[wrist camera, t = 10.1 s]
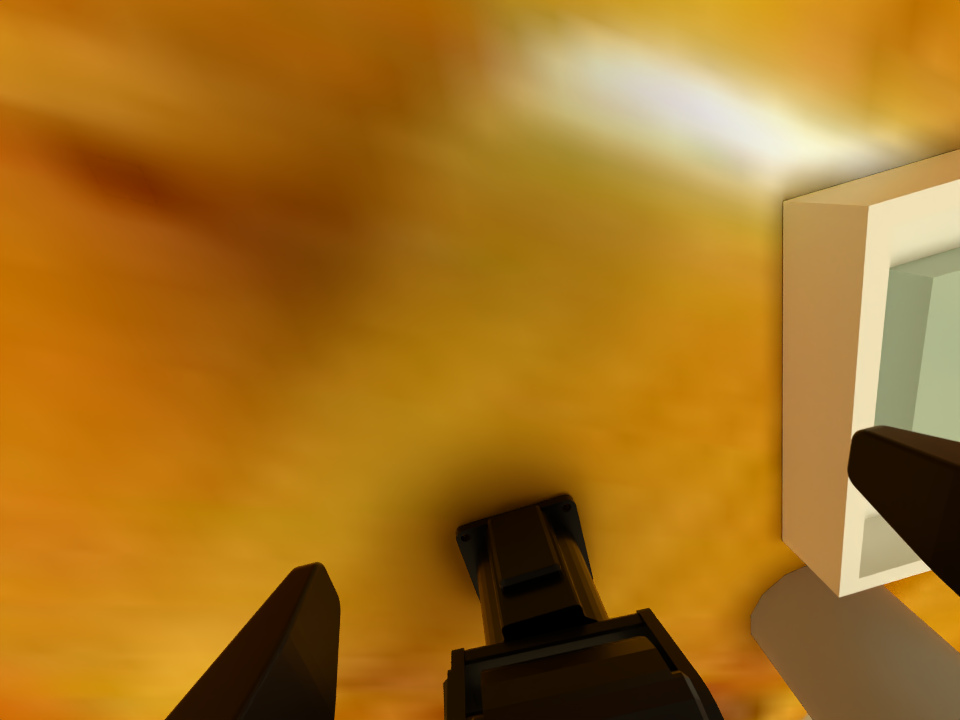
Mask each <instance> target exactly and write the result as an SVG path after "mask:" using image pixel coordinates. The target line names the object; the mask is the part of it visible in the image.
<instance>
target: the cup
mask: <svg viewBox="0 0 960 720" xmlns="http://www.w3.org/2000/svg"><path fill="white" fill-rule="evenodd" d="M751 635H752V636H753V637H754V639H755V640H756V642H757V643H758V644H759V646H760V647H761V649H762V650H763V651H764V653H765V654H766V655H767V657H768V658H769V660H770V661H771V662H772V664H773V665H774V667H775V668H776V669H777V671H778V672H779V674H780V675H781V676H782V678H783V679H784V681H785V682H786V683H787V685H788V686H789V688H790V689H791V690H792V692H793V693H794V694H795V696H796V697H797V699H798V700H799V701H800V703H801V704H802V706H803V707H804V708H805V710H806V711H807V713H808V714H809V715H810V717H811V718H812V720H960V653H959V652H958V651H956V650H955V649H954V648H953V647H952V646H951V645H950V644H949V643H947V642H946V641H945V640H944V639H943V638H942V637H941V636H939V635H938V634H937V633H936V632H935V631H934V630H933V629H932V628H930V627H929V626H928V625H927V624H926V623H925V622H924V621H923V620H921V619H920V618H919V617H918V616H917V615H916V614H915V613H913V612H912V611H911V610H910V609H909V608H908V607H907V606H906V605H904V604H903V603H902V602H901V601H900V600H899V599H898V598H896V597H895V596H894V595H893V594H892V593H891V592H890V591H889V590H887V589H886V588H885V587H884V586H883V585H879V586H876V587H873V588H869V589H866V590H863V591H859V592H856V593H853V594H849V595H846V596H843V597H838V596H837V595H836V594H835V593H834V592H833V591H832V590H831V589H830V588H829V587H828V586H827V585H826V584H825V583H824V582H823V581H822V580H821V579H820V578H819V577H818V576H817V575H816V574H815V573H814V572H813V571H812V570H811V569H810V568H809V567H808V566H804V567H802V568H800V569H798V570H795V571H793V572H791V573H789V574H787V575H785V576H784V577H782V578H781V579H780V580H779V581H778V582H777V583H775V584H774V585H773V586H772V587H771V588H770V589H768V590H767V591H766V592H765V593H764V594H763V595H762V597H761V598H760V600H759V602H758V604H757V605H756V607H755V609H754V611H753V613H752V614H751Z"/></svg>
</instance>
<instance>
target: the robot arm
mask: <svg viewBox="0 0 960 720" xmlns="http://www.w3.org/2000/svg"><path fill="white" fill-rule="evenodd" d="M847 473H848V477H849V479H850V481H851V483H852V484H853V485H854V487H855V488H856V489H857V490H858V491H859V492H860V493H861V494H862V495H863V497H864V498H865V499H866V500H867V501H868V502H869V503H870V504H871V505H872V506H873V507H874V509H875V510H876V511H877V512H878V513H879V514H880V515H881V516H882V517H883V518H884V520H885V521H886V522H887V523H888V524H889V525H890V526H891V527H892V528H893V529H894V530H895V532H896V533H897V534H898V535H899V536H900V537H901V538H902V539H903V540H904V541H905V542H906V544H907V545H908V546H909V547H910V548H911V549H912V550H913V551H914V552H915V553H916V554H917V555H918V557H919V558H920V559H921V560H922V561H923V562H924V563H925V564H926V565H927V566H928V567H929V568H930V569H931V570H932V571H933V572H934V573H935V574H936V575H937V576H938V577H939V578H940V579H941V580H942V581H943V582H944V583H946V584H947V585H948V586H949V587H950V588H951V589H952V590H953V591H954V592H955V593H956V594H957V595H958V596H959V597H960V442H958V441H954V440H949V439H945V438H940V437H936V436H931V435H927V434H922V433H918V432H913V431H909V430H904V429H900V428H895V427H891V426H886V425H878V426H873V427H869V428H865V429H861V430H858V431H856V432H855V433H854V435H853V436H852V439H851V446H850V452H849V459H848V466H847ZM565 504H568V505H567V506H565V507H563V505H565ZM464 534H468V535H467V536H462V535H464ZM456 540H457V543H458V546H459V548H460V551H461V553H462V556H463V559H464V561H465V564H466V566H467V569H468V572H469V574H470V577H471V579H472V582H473V585H474V587H475V590H476V592H477V595H478V598H479V600H480V603H481V610H482V617H483V625H484V633H485V640H486V646H482V647H477V648H473V649H468V650H465V649H464V648H461V649H457V650H452V652H451V670H448V678H447V680H446V681H445V682H444V683H443V688H444V720H724V719H723V716H722V714H721V712H720V710H719V708H718V706H717V704H716V702H715V700H714V698H713V697H712V695H711V693H710V691H709V689H708V688H707V686H706V685H705V683H704V682H703V680H702V679H701V677H700V676H699V674H698V673H697V672H696V670H695V669H694V668H693V666H692V665H691V664H690V662H689V661H688V660H687V658H686V657H685V655H684V654H683V653H682V651H681V650H680V649H679V647H678V646H677V645H676V643H675V642H674V641H673V639H672V638H671V637H670V635H669V634H668V632H667V631H666V630H665V628H664V627H663V626H662V624H661V623H660V622H659V620H658V619H657V618H656V616H655V615H654V614H653V612H652V611H651V609H650V608H646V609H642V610H637V613H635V614H630V615H625V616H621V617H616V618H611V619H609V618H608V616H607V613H606V611H605V608H604V606H603V604H602V601H601V599H600V596H599V594H598V592H597V589H596V587H595V585H594V582H593V576H592V572H591V568H590V563H589V559H588V555H587V551H586V546H585V542H584V538H583V533H582V529H581V525H580V521H579V516H578V512H577V508H576V504H575V502H574V500H573V498H572V497H571V496H568V495H563V496H560V497H556V498H553V499H549V500H546V501H543V502H539V503H536V504H533V505H529V506H526V507H523V508H519V509H516V510H512V511H509V512H506V513H502V514H499V515H496V516H492V517H489V518H486V519H482V520H479V521H475V522H472V523H469V524H465V525H462V526H460V527H459V528H458V529H457V530H456ZM339 629H340V601H339V597H338V595H337V592H336V590H335V588H334V586H333V584H332V582H331V580H330V577H329V575H328V573H327V571H326V569H325V567H324V565H323V564H322V563H319V562H315V563H311V564H307V565H303V566H298V567H296V568H294V569H293V570H292V571H291V572H290V573H289V574H288V576H287V577H286V578H285V579H284V580H283V581H282V583H281V584H280V585H279V586H278V587H277V588H276V590H275V591H274V592H273V593H272V594H271V595H270V597H269V598H268V599H267V600H266V601H265V603H264V604H263V605H262V606H261V607H260V608H259V610H258V611H257V612H256V613H255V614H254V615H253V617H252V618H251V619H250V620H249V621H248V622H247V624H246V625H245V626H244V627H243V628H242V630H241V631H240V632H239V633H238V634H237V635H236V637H235V638H234V639H233V640H232V641H231V642H230V644H229V645H228V646H227V647H226V648H225V649H224V651H223V652H222V653H221V654H220V655H219V657H218V658H217V659H216V660H215V661H214V662H213V664H212V665H211V666H210V667H209V668H208V669H207V671H206V672H205V673H204V674H203V675H202V677H201V678H200V679H199V680H198V681H197V682H196V684H195V685H194V686H193V687H192V688H191V689H190V691H189V692H188V693H187V694H186V695H185V696H184V698H183V699H182V700H181V701H180V702H179V704H178V705H177V706H176V707H175V708H174V709H173V711H172V712H171V713H170V714H169V715H168V716H167V718H166V719H165V720H334V716H335V703H336V686H337V667H338V648H339Z"/></svg>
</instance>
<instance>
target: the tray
mask: <svg viewBox="0 0 960 720" xmlns="http://www.w3.org/2000/svg"><path fill="white" fill-rule="evenodd" d="M878 425H886V426H891V427H895V428H900V429H904V430H909V431H913V432H918V433H922V434H927V435H931V436H936V437H940V438H945V439H949V440H954V441H958V442H960V149H958V150H955V151H952V152H948V153H945V154H941V155H938V156H935V157H931V158H928V159H924V160H921V161H918V162H914V163H911V164H908V165H904V166H901V167H897V168H894V169H891V170H887V171H884V172H881V173H877V174H874V175H870V176H867V177H864V178H860V179H857V180H853V181H850V182H847V183H843V184H840V185H837V186H833V187H830V188H826V189H823V190H820V191H816V192H813V193H809V194H806V195H803V196H799V197H796V198H793V199H789V200H786V201H783V451H782V541H783V542H784V543H785V544H786V545H787V546H788V547H789V548H790V549H791V550H792V551H793V552H794V553H795V554H796V555H797V556H798V557H799V558H800V559H801V560H802V561H803V562H804V563H805V564H806V565H807V566H808V567H809V568H810V569H811V570H812V571H813V572H814V573H815V574H816V575H817V576H818V577H819V578H820V579H821V580H822V581H823V582H824V583H825V584H826V585H827V586H828V587H829V588H830V589H831V590H832V591H833V592H834V593H835V594H836V595H837V596H838V597H843V596H846V595H849V594H853V593H856V592H859V591H863V590H866V589H869V588H873V587H876V586H879V585H883V584H886V583H889V582H893V581H896V580H899V579H903V578H906V577H909V576H913V575H916V574H919V573H923V572H926V571H929V570H931V569H930V568H929V567H928V566H927V565H926V564H925V563H924V562H923V561H922V560H921V559H920V558H919V557H918V555H917V554H916V553H915V552H914V551H913V550H912V549H911V548H910V547H909V546H908V545H907V544H906V542H905V541H904V540H903V539H902V538H901V537H900V536H899V535H898V534H897V533H896V532H895V530H894V529H893V528H892V527H891V526H890V525H889V524H888V523H887V522H886V521H885V520H884V518H883V517H882V516H881V515H880V514H879V513H878V512H877V511H876V510H875V509H874V507H873V506H872V505H871V504H870V503H869V502H868V501H867V500H866V499H865V498H864V497H863V495H862V494H861V493H860V492H859V491H858V490H857V489H856V488H855V487H854V485H853V484H852V483H851V481H850V479H849V477H848V473H847V466H848V459H849V452H850V446H851V439H852V436H853V435H854V433H855V432H856V431H858V430H861V429H865V428H869V427H873V426H878Z"/></svg>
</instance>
